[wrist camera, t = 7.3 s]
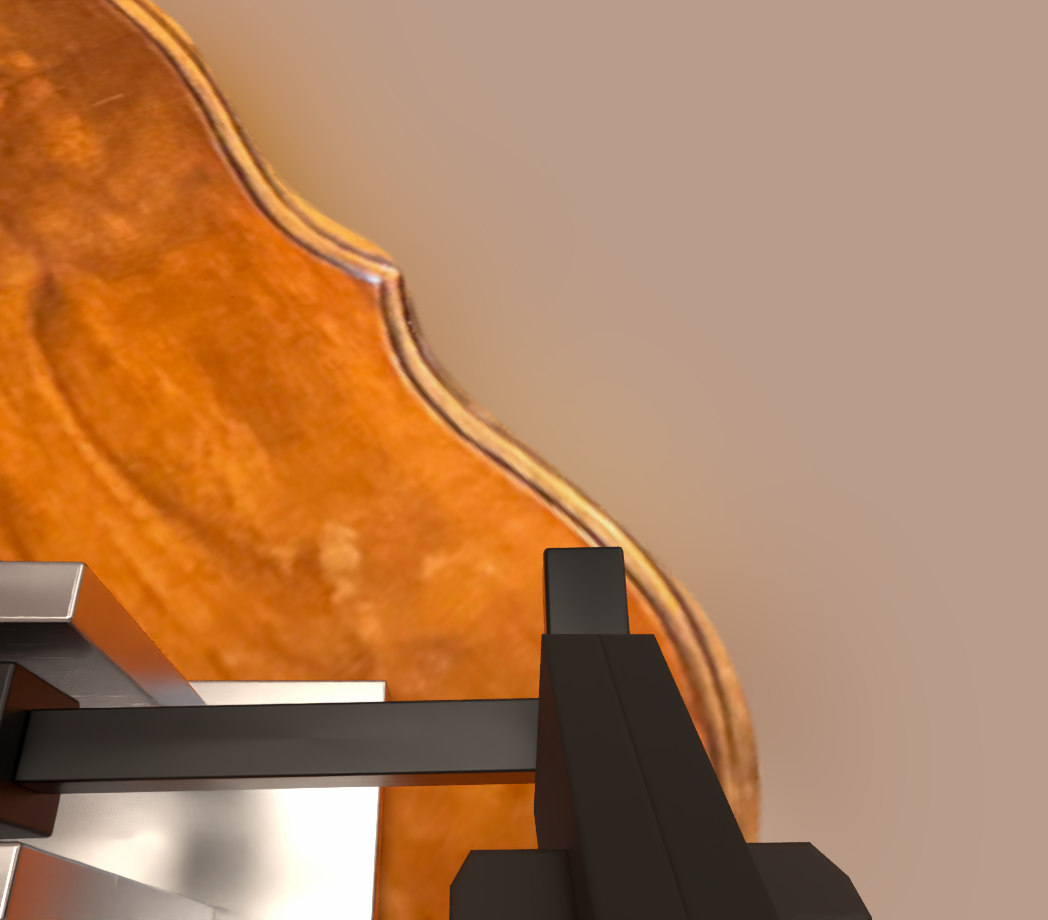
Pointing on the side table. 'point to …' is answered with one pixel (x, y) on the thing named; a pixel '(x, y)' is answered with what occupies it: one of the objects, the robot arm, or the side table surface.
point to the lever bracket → (178, 816)
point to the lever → (287, 727)
